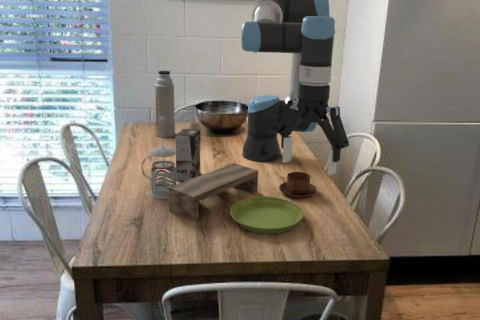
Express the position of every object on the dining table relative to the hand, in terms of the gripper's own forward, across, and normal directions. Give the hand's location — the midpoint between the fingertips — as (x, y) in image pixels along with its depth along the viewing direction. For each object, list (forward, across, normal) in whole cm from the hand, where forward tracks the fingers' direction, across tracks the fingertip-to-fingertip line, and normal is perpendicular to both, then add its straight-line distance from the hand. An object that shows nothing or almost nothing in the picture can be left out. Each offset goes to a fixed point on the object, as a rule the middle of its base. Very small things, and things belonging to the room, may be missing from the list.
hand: (308, 167), depth 127 cm
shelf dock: (+20, -34, +1) cm, 39 cm away
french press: (+20, -51, -6) cm, 55 cm away
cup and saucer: (+20, -20, +25) cm, 37 cm away
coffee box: (+19, -55, +10) cm, 59 cm away
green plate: (+20, -14, +2) cm, 25 cm away
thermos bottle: (+18, -100, +38) cm, 108 cm away
